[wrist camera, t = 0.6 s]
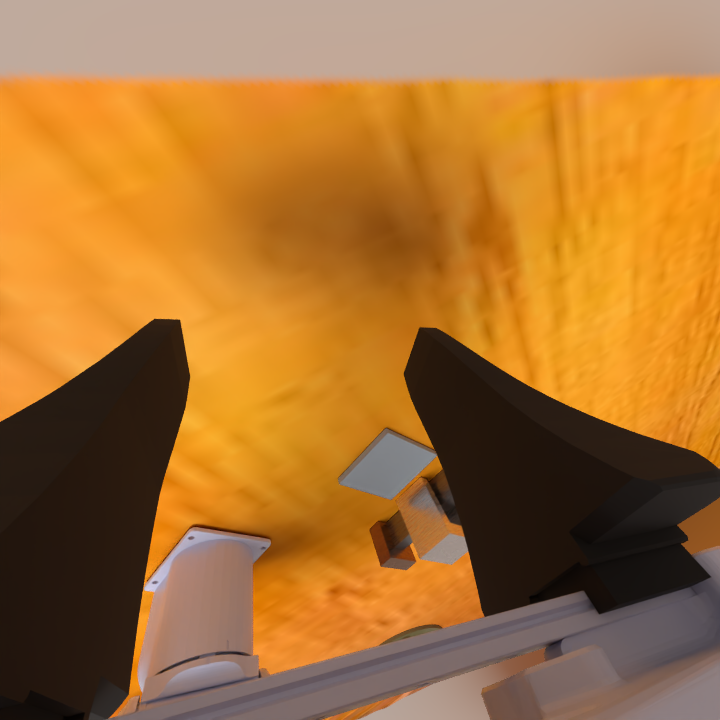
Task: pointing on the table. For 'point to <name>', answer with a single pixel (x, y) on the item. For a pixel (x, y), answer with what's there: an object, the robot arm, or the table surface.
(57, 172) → the table surface
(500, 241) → the table surface
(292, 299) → the table surface
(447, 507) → the rail
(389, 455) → the mat
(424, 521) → the bracket
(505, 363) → the table surface
